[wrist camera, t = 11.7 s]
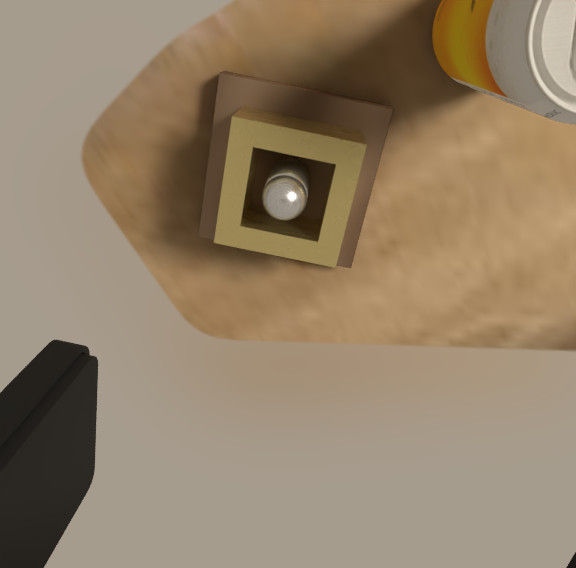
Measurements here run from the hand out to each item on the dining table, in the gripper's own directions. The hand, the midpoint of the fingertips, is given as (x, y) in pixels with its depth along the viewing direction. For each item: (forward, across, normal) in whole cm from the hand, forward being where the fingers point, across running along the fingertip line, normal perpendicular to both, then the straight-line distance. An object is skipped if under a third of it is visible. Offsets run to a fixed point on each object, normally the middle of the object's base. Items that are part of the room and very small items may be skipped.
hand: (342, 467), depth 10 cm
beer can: (+27, -6, -8) cm, 29 cm away
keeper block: (+26, +3, +1) cm, 26 cm away
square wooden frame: (+25, +3, +1) cm, 25 cm away
